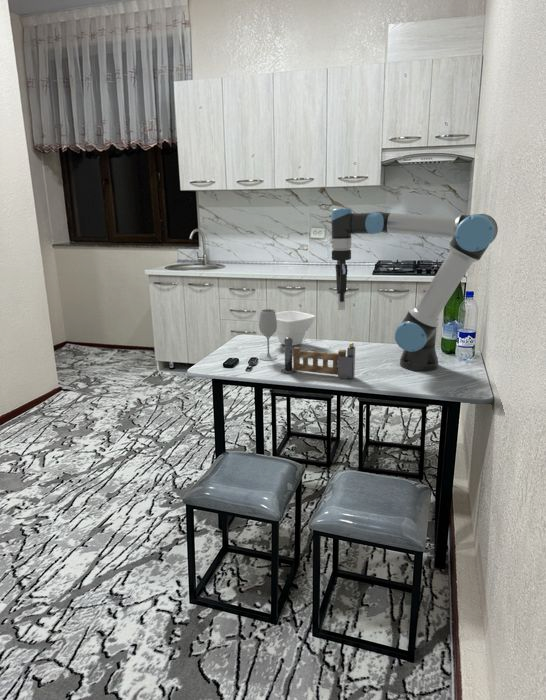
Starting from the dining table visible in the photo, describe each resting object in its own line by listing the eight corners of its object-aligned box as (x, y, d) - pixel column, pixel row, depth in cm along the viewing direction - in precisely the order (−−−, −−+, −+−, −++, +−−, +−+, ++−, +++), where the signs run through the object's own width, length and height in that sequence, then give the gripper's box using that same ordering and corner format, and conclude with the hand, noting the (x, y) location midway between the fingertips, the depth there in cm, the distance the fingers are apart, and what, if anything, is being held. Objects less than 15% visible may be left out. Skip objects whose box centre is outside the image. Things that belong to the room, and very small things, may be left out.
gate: (293, 370, 206) (293, 347, 203) (295, 368, 208) (295, 345, 206) (343, 375, 199) (344, 351, 196) (345, 373, 201) (345, 350, 199)
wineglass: (275, 361, 221) (274, 312, 215) (257, 360, 223) (256, 312, 217) (278, 356, 228) (278, 309, 222) (261, 355, 230) (260, 308, 224)
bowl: (291, 337, 259) (291, 309, 255) (319, 345, 245) (319, 316, 241) (262, 344, 248) (261, 315, 244) (289, 352, 234) (289, 322, 230)
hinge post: (298, 369, 210) (298, 336, 206) (293, 374, 204) (293, 339, 201) (284, 368, 212) (283, 334, 208) (279, 372, 206) (278, 338, 203)
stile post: (354, 376, 201) (355, 342, 197) (351, 380, 196) (352, 345, 193) (340, 375, 202) (341, 341, 199) (337, 379, 198) (338, 344, 195)
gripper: (329, 248, 209) (329, 306, 215) (334, 251, 196) (334, 312, 202) (347, 247, 209) (347, 305, 215) (354, 250, 196) (353, 312, 203)
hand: (341, 309), depth 209 cm, fingers closed
